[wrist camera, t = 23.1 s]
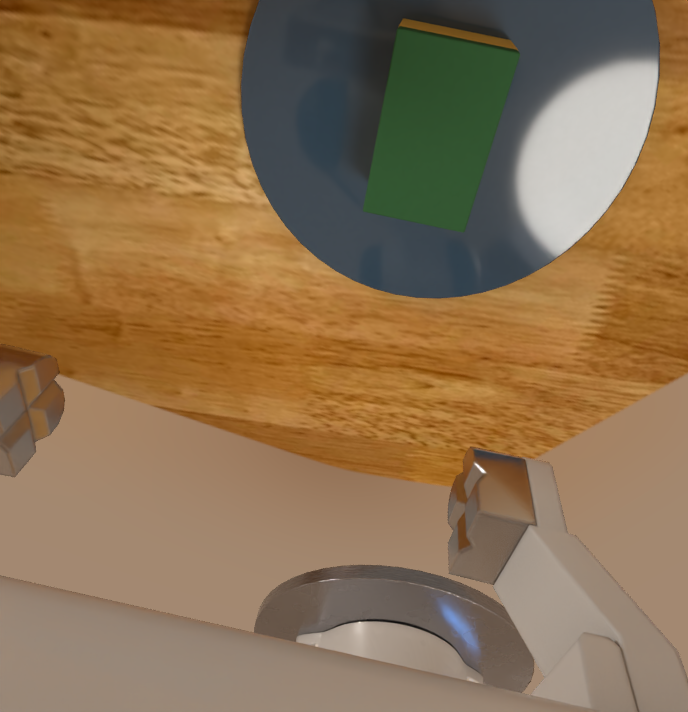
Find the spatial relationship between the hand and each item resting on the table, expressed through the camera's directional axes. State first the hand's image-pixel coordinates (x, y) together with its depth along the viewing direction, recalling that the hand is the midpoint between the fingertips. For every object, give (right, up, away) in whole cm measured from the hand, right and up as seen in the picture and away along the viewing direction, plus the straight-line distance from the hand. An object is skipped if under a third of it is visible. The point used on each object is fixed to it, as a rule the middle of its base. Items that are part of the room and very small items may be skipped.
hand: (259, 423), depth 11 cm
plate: (+6, +12, +14) cm, 20 cm away
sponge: (+6, +12, +14) cm, 19 cm away
